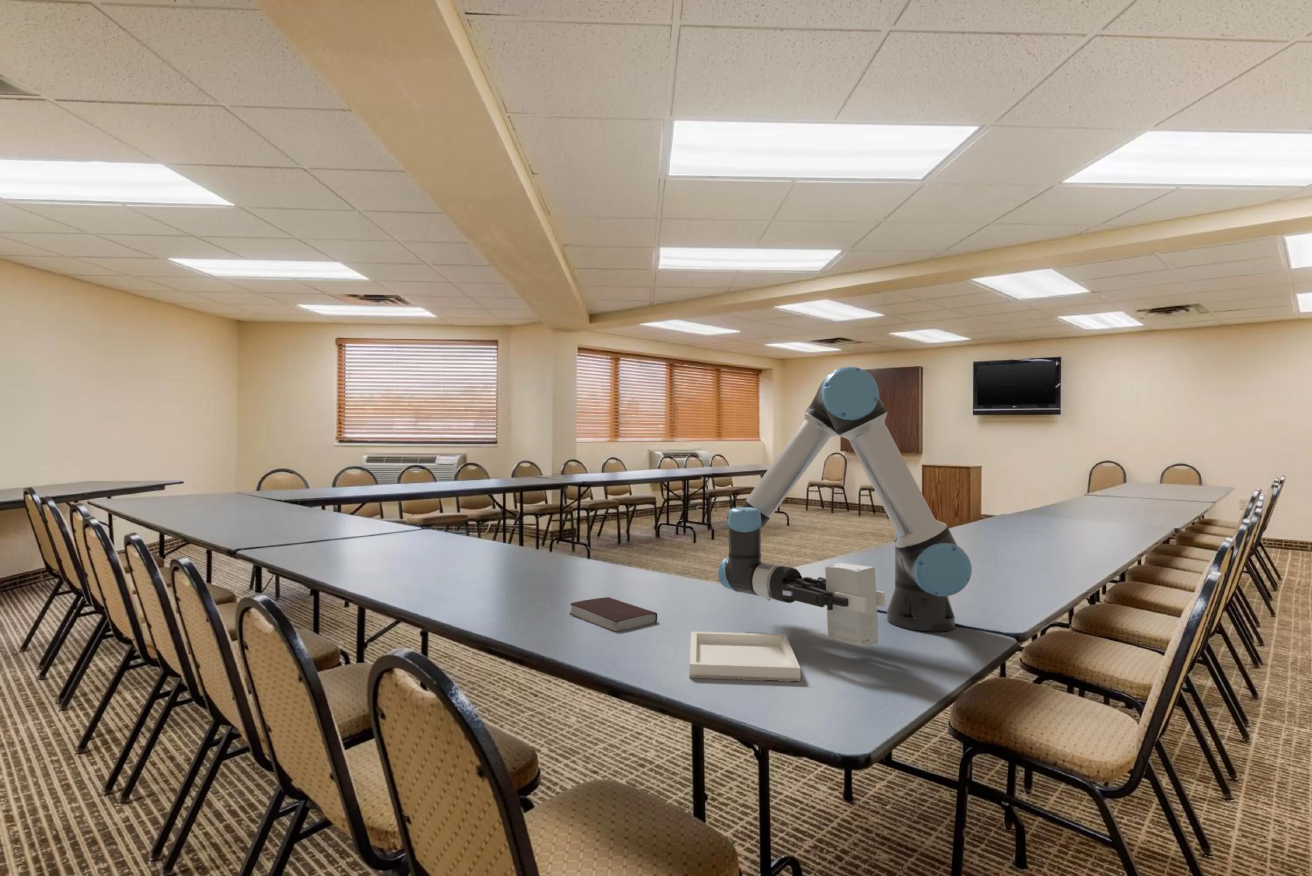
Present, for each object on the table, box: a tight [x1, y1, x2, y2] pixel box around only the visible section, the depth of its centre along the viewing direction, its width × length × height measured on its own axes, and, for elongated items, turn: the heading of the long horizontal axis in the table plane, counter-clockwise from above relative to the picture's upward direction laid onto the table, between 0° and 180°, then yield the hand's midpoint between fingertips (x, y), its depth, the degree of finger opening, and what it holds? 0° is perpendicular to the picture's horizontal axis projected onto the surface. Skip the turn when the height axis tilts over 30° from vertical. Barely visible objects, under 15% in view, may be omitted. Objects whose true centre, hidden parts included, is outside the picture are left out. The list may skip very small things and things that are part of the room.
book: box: [569, 596, 658, 633], centre depth 155 cm, size 12×19×3 cm, turn 41°
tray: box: [688, 631, 801, 683], centre depth 125 cm, size 20×20×2 cm
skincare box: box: [824, 562, 879, 648], centre depth 126 cm, size 8×6×15 cm
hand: (874, 602), depth 122 cm, fingers closed on skincare box, 6 cm apart
